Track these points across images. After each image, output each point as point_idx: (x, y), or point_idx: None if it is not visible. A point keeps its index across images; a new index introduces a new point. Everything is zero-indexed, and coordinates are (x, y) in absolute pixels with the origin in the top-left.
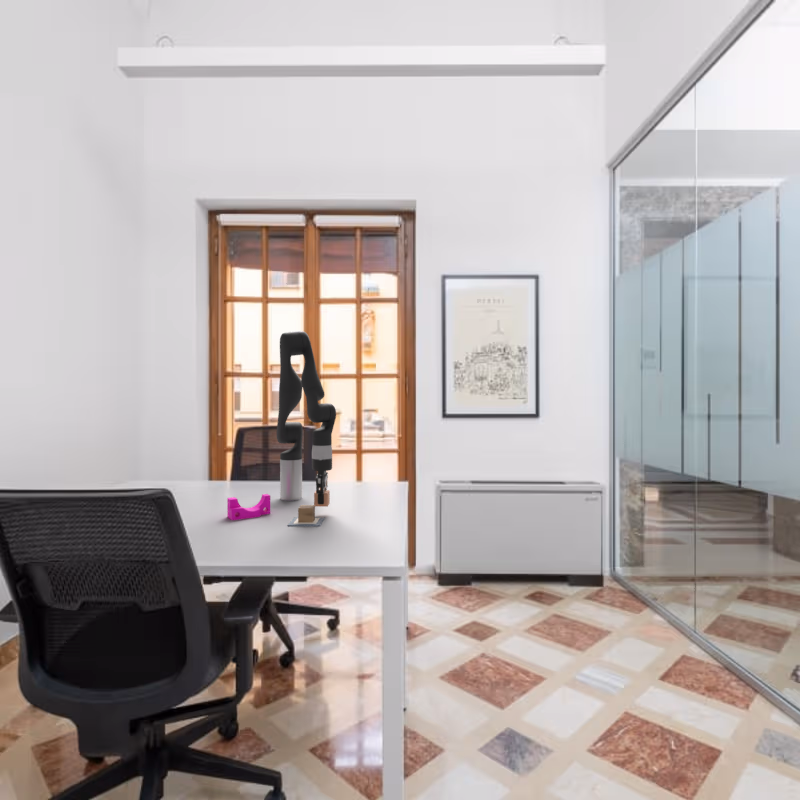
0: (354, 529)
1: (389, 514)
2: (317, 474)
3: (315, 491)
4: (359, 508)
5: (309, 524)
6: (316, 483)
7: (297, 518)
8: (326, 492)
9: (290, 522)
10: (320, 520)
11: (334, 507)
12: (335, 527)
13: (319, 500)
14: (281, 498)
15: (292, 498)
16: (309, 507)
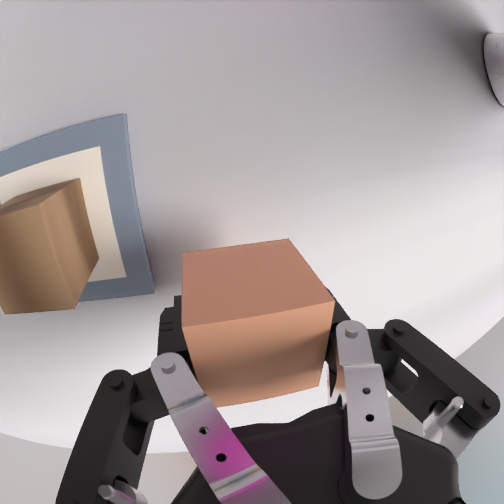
0: (68, 395)
1: None
2: (374, 499)
3: (267, 315)
4: None
5: None
6: (68, 469)
7: (86, 150)
8: (230, 397)
9: (11, 151)
10: (87, 291)
11: (404, 255)
12: (56, 350)
13: (161, 329)
14: (491, 34)
15: (493, 71)
16: (8, 292)
